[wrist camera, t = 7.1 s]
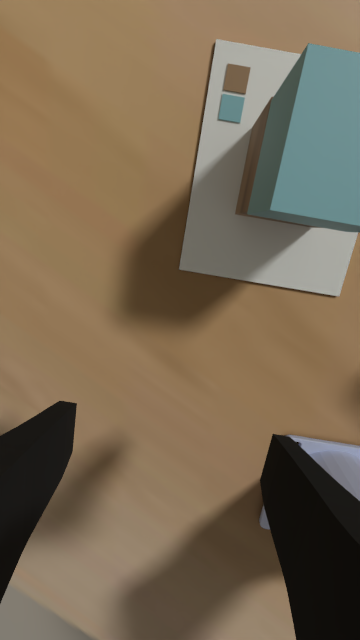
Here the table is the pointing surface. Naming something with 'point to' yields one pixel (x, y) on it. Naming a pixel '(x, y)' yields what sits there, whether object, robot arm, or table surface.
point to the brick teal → (313, 144)
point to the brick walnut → (254, 167)
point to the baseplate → (225, 180)
